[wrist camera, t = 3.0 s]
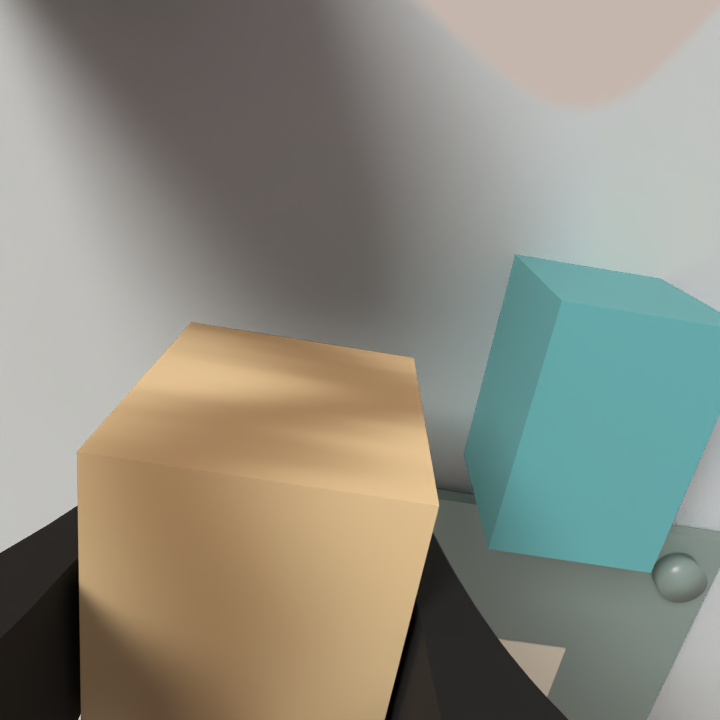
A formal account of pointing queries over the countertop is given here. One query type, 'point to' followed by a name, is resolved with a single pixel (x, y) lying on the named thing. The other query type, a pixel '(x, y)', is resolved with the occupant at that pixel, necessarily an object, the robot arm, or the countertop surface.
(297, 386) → the honey-wood brick
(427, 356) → the countertop surface
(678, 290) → the teal brick
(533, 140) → the countertop surface
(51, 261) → the countertop surface
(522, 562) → the baseplate
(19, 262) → the countertop surface
